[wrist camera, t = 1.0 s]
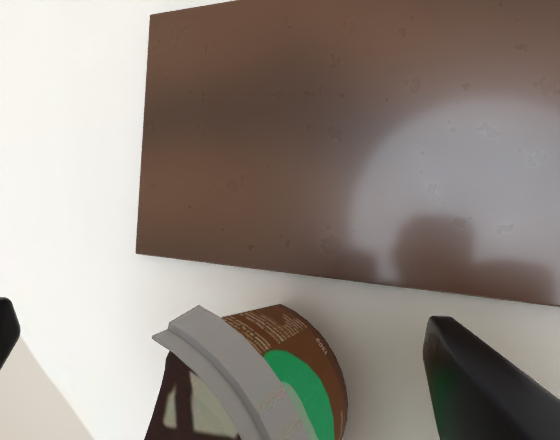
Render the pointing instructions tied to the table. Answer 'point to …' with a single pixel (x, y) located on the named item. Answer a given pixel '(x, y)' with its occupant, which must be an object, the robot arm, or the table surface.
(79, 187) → the table surface
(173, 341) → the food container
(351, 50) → the walnut board
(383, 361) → the table surface
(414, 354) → the table surface
